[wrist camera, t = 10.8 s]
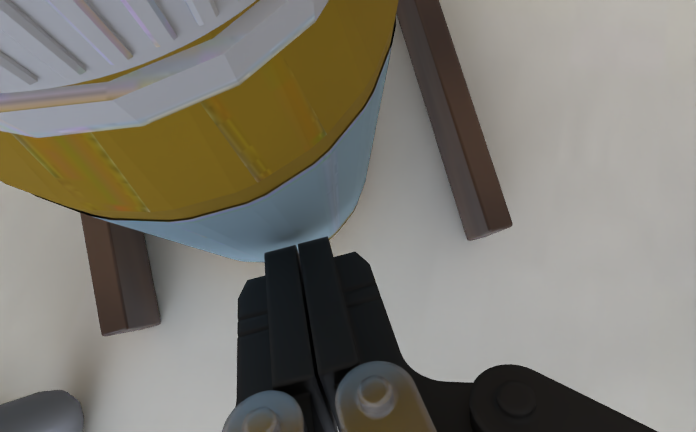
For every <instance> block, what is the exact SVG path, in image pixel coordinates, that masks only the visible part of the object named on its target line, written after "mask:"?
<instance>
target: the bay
mask: <svg viewBox="0 0 696 432" xmlns="http://www.w3.org/2000/svg"><path fill="white" fill-rule="evenodd" d="M396 13H397V16H398V19H399V23H400V26H401V29H402V32H403V35H404V39H405V42H406V45H407V48H408V51H409V55H410V58H411V61H412V64H413V67H414V71H415V74H416V77H417V80H418V83H419V86H420V90H421V93H422V96H423V99H424V102H425V106H426V109H427V112H428V115H429V118H430V122H431V125H432V128H433V131H434V134H435V138H436V141H437V144H438V147H439V150H440V154H441V157H442V160H443V163H444V166H445V170H446V173H447V176H448V179H449V182H450V186H451V189H452V192H453V195H454V198H455V202H456V205H457V208H458V211H459V214H460V218H461V221H462V224H463V227H464V230H465V234H466V237H467V239H468V240H469V241H471V240H475V239H479V238H482V237H486V236H489V235H491V234H494V233H497V232H499V231H502V230H504V229H507V228H510V227H511V226H512V220H511V217H510V214H509V211H508V208H507V205H506V202H505V199H504V196H503V193H502V190H501V187H500V184H499V181H498V178H497V175H496V172H495V169H494V166H493V163H492V160H491V157H490V154H489V151H488V148H487V145H486V142H485V139H484V136H483V133H482V130H481V127H480V124H479V121H478V118H477V115H476V112H475V109H474V106H473V103H472V100H471V97H470V93H469V90H468V87H467V84H466V81H465V78H464V75H463V72H462V69H461V66H460V63H459V60H458V57H457V54H456V51H455V48H454V45H453V42H452V39H451V36H450V33H449V30H448V27H447V24H446V21H445V18H444V15H443V12H442V9H441V6H440V3H439V0H399V1H398V6H397V11H396ZM81 219H82V225H83V231H84V236H85V242H86V248H87V253H88V259H89V265H90V271H91V276H92V282H93V288H94V294H95V299H96V305H97V311H98V316H99V322H100V328H101V334H102V336H110V335H115V334H121V333H126V332H131V331H137V330H142V329H145V328H149V327H153V326H156V325H159V324H160V323H161V320H160V315H159V310H158V305H157V300H156V295H155V290H154V284H153V279H152V274H151V269H150V264H149V259H148V254H147V249H146V244H145V239H144V234H143V232H141V231H138V230H134V229H131V228H128V227H124V226H121V225H118V224H114V223H111V222H108V221H104V220H101V219H98V218H95V217H91V216H88V215H85V214H83V213H81Z"/></svg>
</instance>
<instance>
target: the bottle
mask: <svg viewBox="0 0 696 432" xmlns="http://www.w3.org/2000/svg"><path fill="white" fill-rule="evenodd" d="M398 1H399V0H0V181H2V182H4V183H5V184H7V185H10V186H13V187H16V188H18V189H21V190H24V191H26V192H29V193H31V194H33V195H35V196H37V197H40V198H42V199H45V200H48V201H50V202H53V203H56V204H58V205H61V206H64V207H67V208H69V209H72V210H75V211H77V212H80V213H83V214H85V215H88V216H91V217H95V218H98V219H101V220H104V221H108V222H111V223H114V224H118V225H121V226H124V227H128V228H131V229H134V230H138V231H141V232H144V233H148V234H151V235H154V236H158V237H161V238H164V239H167V240H171V241H174V242H177V243H181V244H184V245H187V246H191V247H194V248H197V249H201V250H204V251H207V252H211V253H214V254H217V255H221V256H224V257H227V258H231V259H234V260H238V261H244V262H265V260H264V254H265V253H266V252H269V251H273V250H277V249H281V248H285V247H289V246H292V245H296V247H297V249H298V244H299V243H303V242H307V241H311V240H315V239H319V238H322V237H326V236H328V239H331V238H332V237H333V236H334V235H335V234H336V233H337V232H338V231H339V230H340V228H341V227H342V226H343V225H344V223H345V222H346V221H347V219H348V218H349V217H350V216H351V214H352V213H353V211H354V209H355V207H356V205H357V202H358V199H359V197H360V194H361V191H362V189H363V186H364V183H365V179H366V174H367V169H368V164H369V159H370V154H371V149H372V144H373V139H374V134H375V129H376V123H377V118H378V113H379V108H380V103H381V98H382V93H383V88H384V83H385V78H386V73H387V68H388V62H389V57H390V52H391V47H392V42H393V37H394V32H395V27H396V11H397V6H398ZM298 252H299V251H298Z"/></svg>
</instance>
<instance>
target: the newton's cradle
mask: <svg viewBox="0 0 696 432" xmlns="http://www.w3.org/2000/svg"><path fill="white" fill-rule="evenodd" d="M83 425H84V416H83V412H82V408H81V405H80V402H79V401H78V400H77V399H76V398H74V397H73V396H72V395H70V394H69V393H68V392H66V391H63V390H52V391H42V392H38V393H35V394H32V395H29V396H26V397H23V398H20V399H17V400H14V401H11V402H8V403H5V404H2V405H0V432H83Z"/></svg>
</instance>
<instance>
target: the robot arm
mask: <svg viewBox="0 0 696 432" xmlns="http://www.w3.org/2000/svg"><path fill="white" fill-rule="evenodd" d="M298 251H299V252H298ZM264 260H265V276H262V277H258V278H254V279H250V280H247V282H246V284H245V286H244V288H243V290H242V292H241V294H240V296H239V298H238V321H239V322H238V339H237V401H236V407H235V409H234V410H233V411H232V412H231V414H230V415H229V416H228V418H227V420H226V422H225V424H224V427H223V430H222V432H338V430H339V432H657V431H655V430H653V429H651V428H649V427H647V426H645V425H643V424H641V423H639V422H637V421H635V420H633V419H631V418H629V417H627V416H625V415H623V414H621V413H619V412H617V411H615V410H613V409H611V408H609V407H607V406H605V405H603V404H601V403H599V402H597V401H595V400H593V399H591V398H589V397H587V396H585V395H583V394H581V393H579V392H576V391H574V390H572V389H570V388H568V387H566V386H564V385H562V384H560V383H558V382H556V381H554V380H552V379H550V378H548V377H546V376H544V375H542V374H540V373H538V372H536V371H534V370H532V369H529V368H527V367H523V366H519V365H512V364H510V365H498V366H495V367H492V368H489V369H487V370H485V371H484V372H483V373H481V374H480V375H479V376H478V377H477V378H476V380H475V381H474V383H464V382H443V381H436V380H432V379H429V378H426V377H424V376H422V375H420V374H418V373H417V372H415V371H414V370H413V369H412V368H411V367H410V366H409V365H408V364H407V363H406V362H405V360H404V359H403V357H402V355H401V353H400V350H399V347H398V344H397V341H396V338H395V336H394V333H393V330H392V327H391V324H390V321H389V318H388V316H387V313H386V310H385V307H384V304H383V301H382V299H381V296H380V293H379V290H378V287H377V284H376V282H375V279H374V276H373V273H372V270H371V267H370V264H369V263H368V262H367V261H365V260H364V259H363V258H362V257H361V256H360V255H359V254H358V253H356V252H352V253H348V254H344V255H341V256H337V257H333V254H332V250H331V247H330V243H329V239H328V236H326V237H322V238H319V239H315V240H311V241H307V242H303V243H299V244H298V249H297V247H296V245H292V246H289V247H285V248H281V249H277V250H273V251H269V252H266V253H265V254H264ZM337 427H338V429H337Z"/></svg>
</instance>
